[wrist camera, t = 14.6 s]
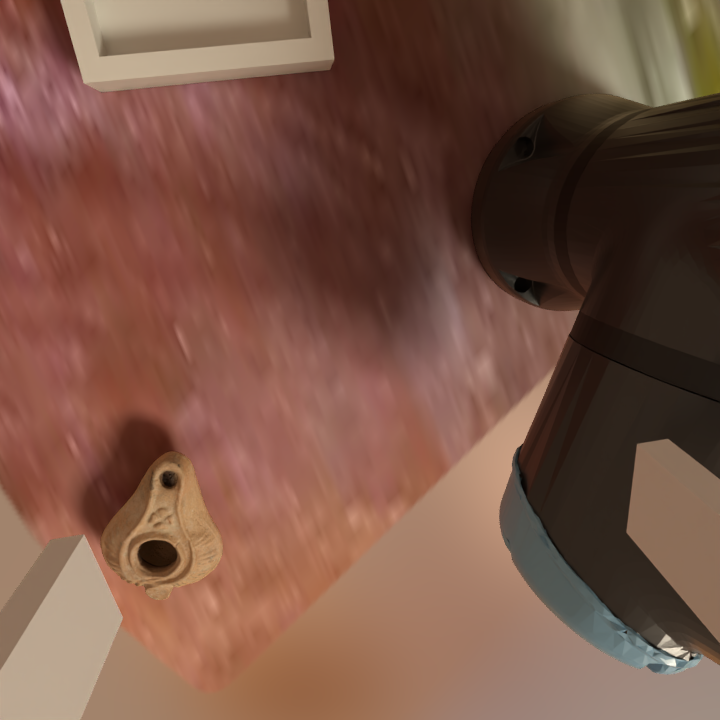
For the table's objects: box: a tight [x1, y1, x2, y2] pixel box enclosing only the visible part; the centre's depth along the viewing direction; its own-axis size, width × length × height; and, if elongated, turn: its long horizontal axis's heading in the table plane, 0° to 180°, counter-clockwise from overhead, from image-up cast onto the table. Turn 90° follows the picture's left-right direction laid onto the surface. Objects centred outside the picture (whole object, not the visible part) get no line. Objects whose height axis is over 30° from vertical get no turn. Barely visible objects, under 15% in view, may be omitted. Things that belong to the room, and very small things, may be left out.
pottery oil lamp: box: [101, 451, 223, 600], centre depth 37 cm, size 9×12×7 cm
